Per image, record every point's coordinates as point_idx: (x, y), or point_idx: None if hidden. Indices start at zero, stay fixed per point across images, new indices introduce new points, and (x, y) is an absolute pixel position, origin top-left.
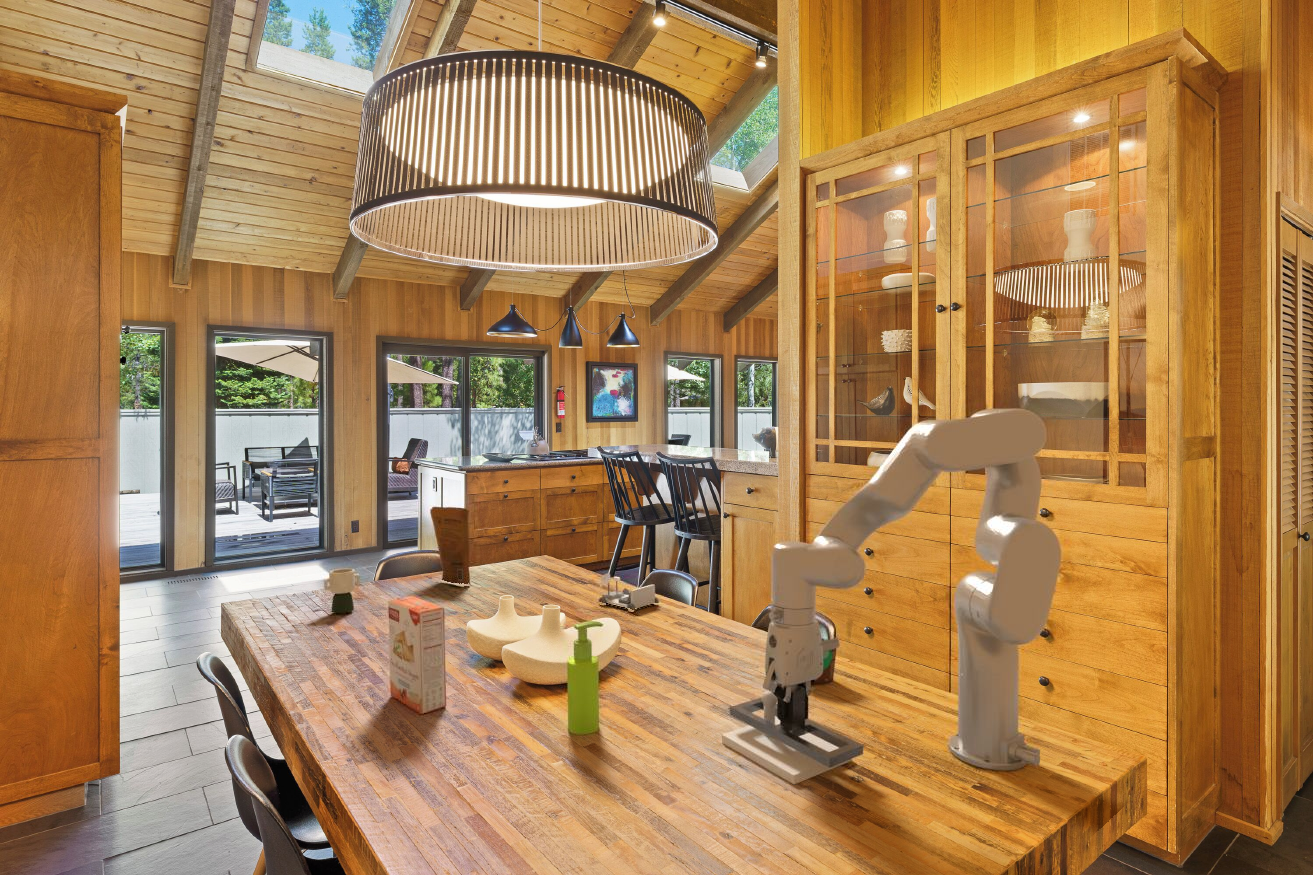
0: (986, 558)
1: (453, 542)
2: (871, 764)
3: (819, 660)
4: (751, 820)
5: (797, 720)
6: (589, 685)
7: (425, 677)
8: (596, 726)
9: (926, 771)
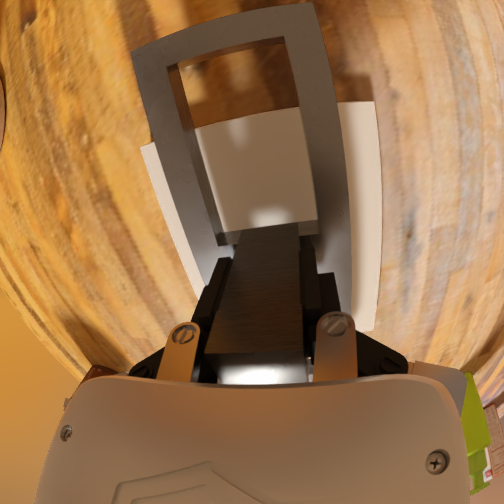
0: None
1: None
2: (121, 112)
3: (67, 458)
4: (498, 65)
5: (273, 254)
6: (479, 422)
7: (498, 427)
8: None
9: (53, 68)
